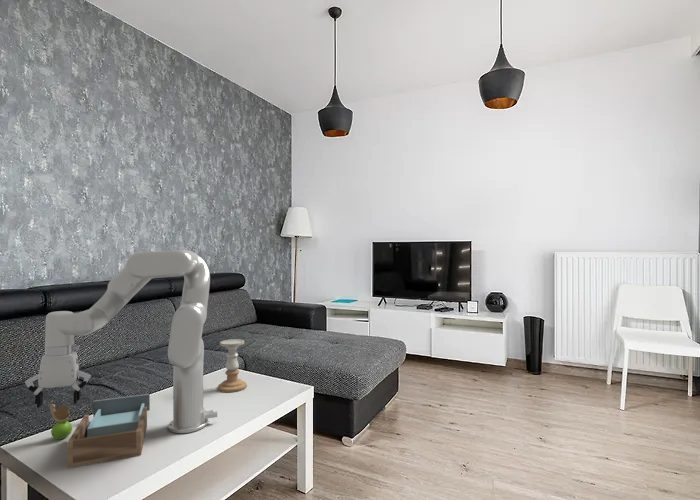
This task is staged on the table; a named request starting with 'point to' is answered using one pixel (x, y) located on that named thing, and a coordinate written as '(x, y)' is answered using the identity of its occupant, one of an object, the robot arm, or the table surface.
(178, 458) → the table surface
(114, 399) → the tray
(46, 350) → the robot arm
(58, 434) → the snail figurine
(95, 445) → the box
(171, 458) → the table surface
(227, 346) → the candle holder
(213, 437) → the table surface
